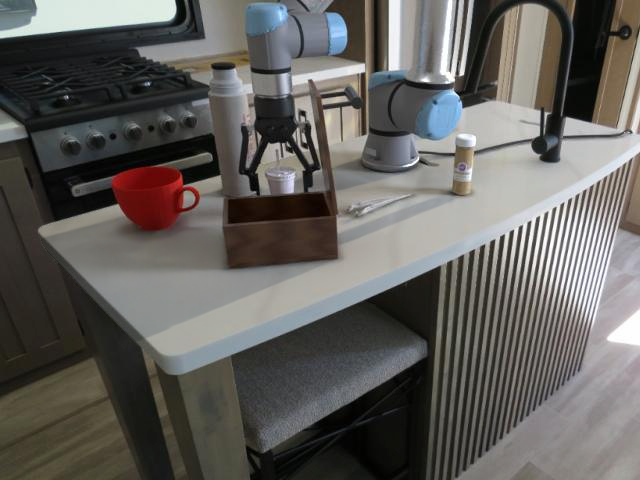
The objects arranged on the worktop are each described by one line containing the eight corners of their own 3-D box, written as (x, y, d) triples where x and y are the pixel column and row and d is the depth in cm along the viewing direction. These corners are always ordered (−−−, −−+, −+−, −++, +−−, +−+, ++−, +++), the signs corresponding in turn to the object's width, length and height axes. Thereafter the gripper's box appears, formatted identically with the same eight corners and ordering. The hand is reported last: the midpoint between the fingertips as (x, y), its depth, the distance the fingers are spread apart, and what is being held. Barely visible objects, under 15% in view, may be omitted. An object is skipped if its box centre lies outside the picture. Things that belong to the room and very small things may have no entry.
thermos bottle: (263, 186, 134) (249, 61, 119) (249, 198, 128) (232, 68, 113) (232, 183, 136) (214, 58, 120) (217, 195, 129) (196, 65, 114)
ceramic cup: (189, 243, 109) (179, 195, 104) (109, 234, 111) (96, 186, 106) (218, 216, 120) (211, 171, 114) (145, 208, 122) (134, 163, 117)
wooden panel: (316, 96, 89) (364, 90, 90) (307, 79, 99) (351, 73, 101) (334, 215, 101) (376, 208, 102) (325, 188, 111) (363, 182, 112)
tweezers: (359, 218, 121) (359, 209, 120) (345, 211, 124) (345, 203, 123) (417, 203, 131) (418, 195, 130) (404, 197, 134) (404, 189, 133)
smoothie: (288, 205, 125) (282, 143, 118) (305, 214, 122) (300, 151, 114) (263, 213, 122) (256, 149, 114) (280, 223, 118) (274, 157, 110)
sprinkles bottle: (452, 195, 133) (457, 138, 125) (450, 188, 136) (454, 132, 129) (471, 195, 133) (477, 139, 125) (469, 188, 137) (474, 133, 129)
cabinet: (229, 268, 101) (222, 226, 97) (229, 237, 112) (223, 197, 107) (338, 258, 106) (336, 217, 101) (328, 229, 116) (327, 190, 111)
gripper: (327, 88, 113) (331, 193, 126) (214, 91, 109) (230, 200, 121) (332, 97, 107) (336, 206, 119) (213, 100, 103) (230, 214, 115)
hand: (283, 203), depth 120 cm, fingers open, 9 cm apart
